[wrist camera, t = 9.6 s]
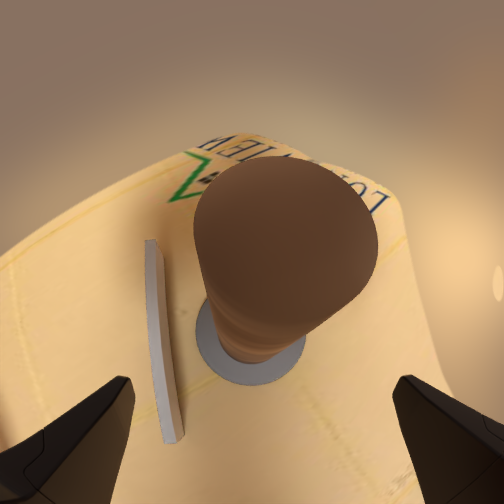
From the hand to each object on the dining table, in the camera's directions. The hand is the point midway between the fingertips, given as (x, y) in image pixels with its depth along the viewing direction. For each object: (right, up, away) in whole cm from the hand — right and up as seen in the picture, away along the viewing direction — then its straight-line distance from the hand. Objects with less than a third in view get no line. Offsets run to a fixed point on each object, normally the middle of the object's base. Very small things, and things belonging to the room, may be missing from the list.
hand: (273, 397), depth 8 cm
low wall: (-7, -2, +11) cm, 13 cm away
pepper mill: (-1, -1, +12) cm, 12 cm away
